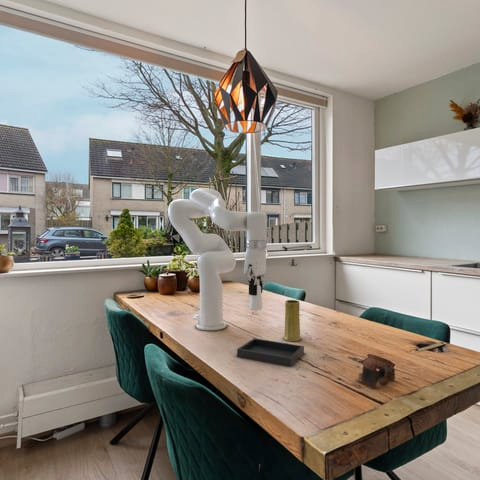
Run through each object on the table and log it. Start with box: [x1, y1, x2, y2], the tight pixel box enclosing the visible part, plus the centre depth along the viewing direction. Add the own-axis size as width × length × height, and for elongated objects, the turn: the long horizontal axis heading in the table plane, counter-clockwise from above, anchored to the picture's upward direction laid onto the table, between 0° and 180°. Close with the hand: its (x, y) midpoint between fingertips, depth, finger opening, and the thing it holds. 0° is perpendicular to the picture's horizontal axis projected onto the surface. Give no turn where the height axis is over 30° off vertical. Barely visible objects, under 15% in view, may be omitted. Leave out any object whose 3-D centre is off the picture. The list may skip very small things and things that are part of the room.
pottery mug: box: [358, 353, 396, 389], centre depth 98 cm, size 12×10×8 cm
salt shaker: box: [248, 279, 263, 311], centre depth 135 cm, size 5×5×11 cm
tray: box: [236, 337, 305, 367], centre depth 119 cm, size 19×13×2 cm
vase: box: [283, 299, 301, 342], centre depth 135 cm, size 6×6×14 cm
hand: (255, 293), depth 135 cm, fingers closed on salt shaker, 4 cm apart
